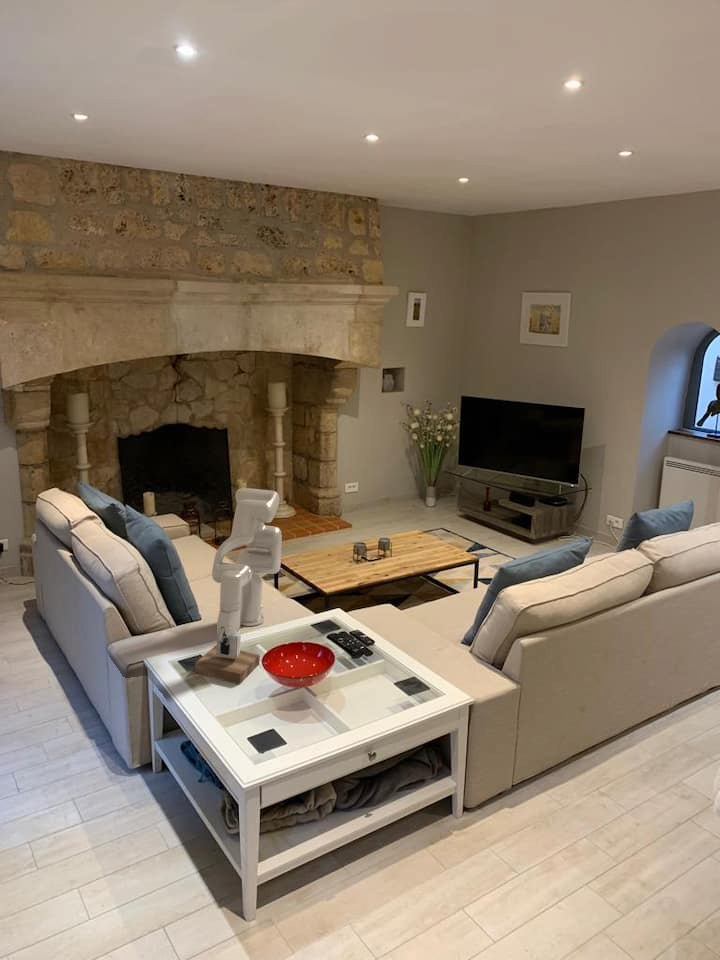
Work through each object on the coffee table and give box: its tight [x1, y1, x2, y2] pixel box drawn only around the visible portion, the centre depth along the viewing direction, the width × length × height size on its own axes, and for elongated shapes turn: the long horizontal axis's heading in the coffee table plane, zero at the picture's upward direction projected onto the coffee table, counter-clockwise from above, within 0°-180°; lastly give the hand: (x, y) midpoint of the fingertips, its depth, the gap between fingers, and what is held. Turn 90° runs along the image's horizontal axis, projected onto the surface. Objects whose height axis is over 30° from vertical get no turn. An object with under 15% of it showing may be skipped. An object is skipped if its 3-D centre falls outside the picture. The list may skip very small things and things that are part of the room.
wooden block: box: [194, 644, 260, 685], centre depth 266 cm, size 16×18×4 cm
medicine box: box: [215, 630, 242, 658], centre depth 264 cm, size 8×4×9 cm, turn 84°
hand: (228, 650), depth 265 cm, fingers closed on medicine box, 5 cm apart
